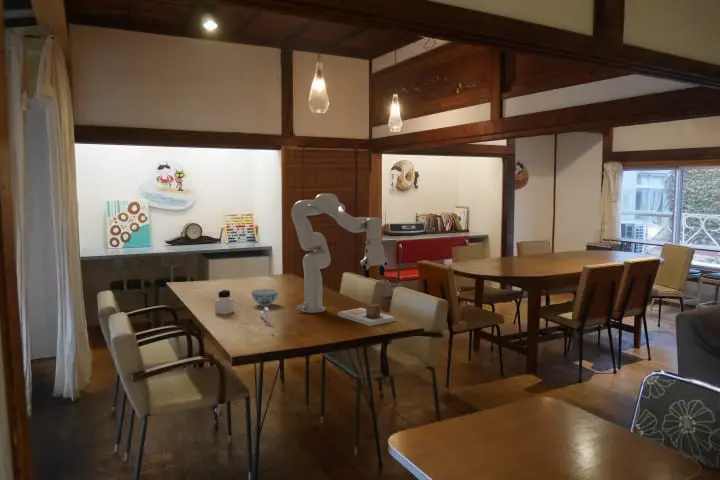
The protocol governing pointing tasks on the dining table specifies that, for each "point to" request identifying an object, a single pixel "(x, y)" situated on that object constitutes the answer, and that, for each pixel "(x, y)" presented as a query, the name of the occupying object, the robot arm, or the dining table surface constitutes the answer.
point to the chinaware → (264, 296)
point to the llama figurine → (265, 314)
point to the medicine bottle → (224, 303)
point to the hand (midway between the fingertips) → (374, 276)
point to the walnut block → (373, 311)
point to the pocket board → (364, 317)
